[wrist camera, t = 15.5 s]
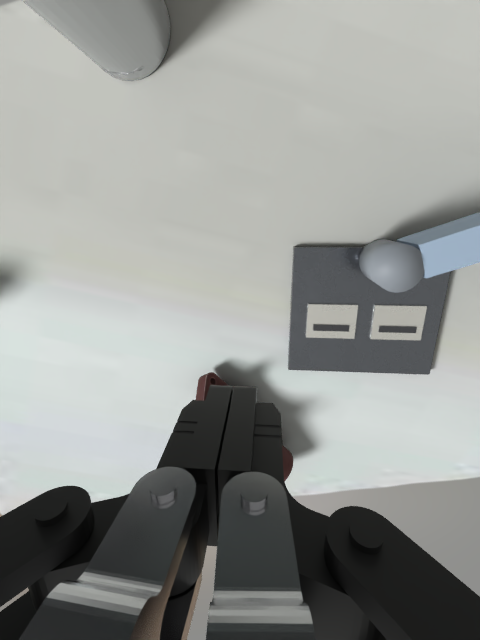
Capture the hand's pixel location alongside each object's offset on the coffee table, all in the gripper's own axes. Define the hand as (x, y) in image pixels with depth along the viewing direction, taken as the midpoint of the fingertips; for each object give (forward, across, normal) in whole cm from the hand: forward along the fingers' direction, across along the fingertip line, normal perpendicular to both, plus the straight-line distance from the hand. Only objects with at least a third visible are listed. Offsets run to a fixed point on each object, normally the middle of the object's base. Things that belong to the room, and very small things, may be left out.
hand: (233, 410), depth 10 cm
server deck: (+31, -13, +6) cm, 34 cm away
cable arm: (+27, -19, -3) cm, 33 cm away
